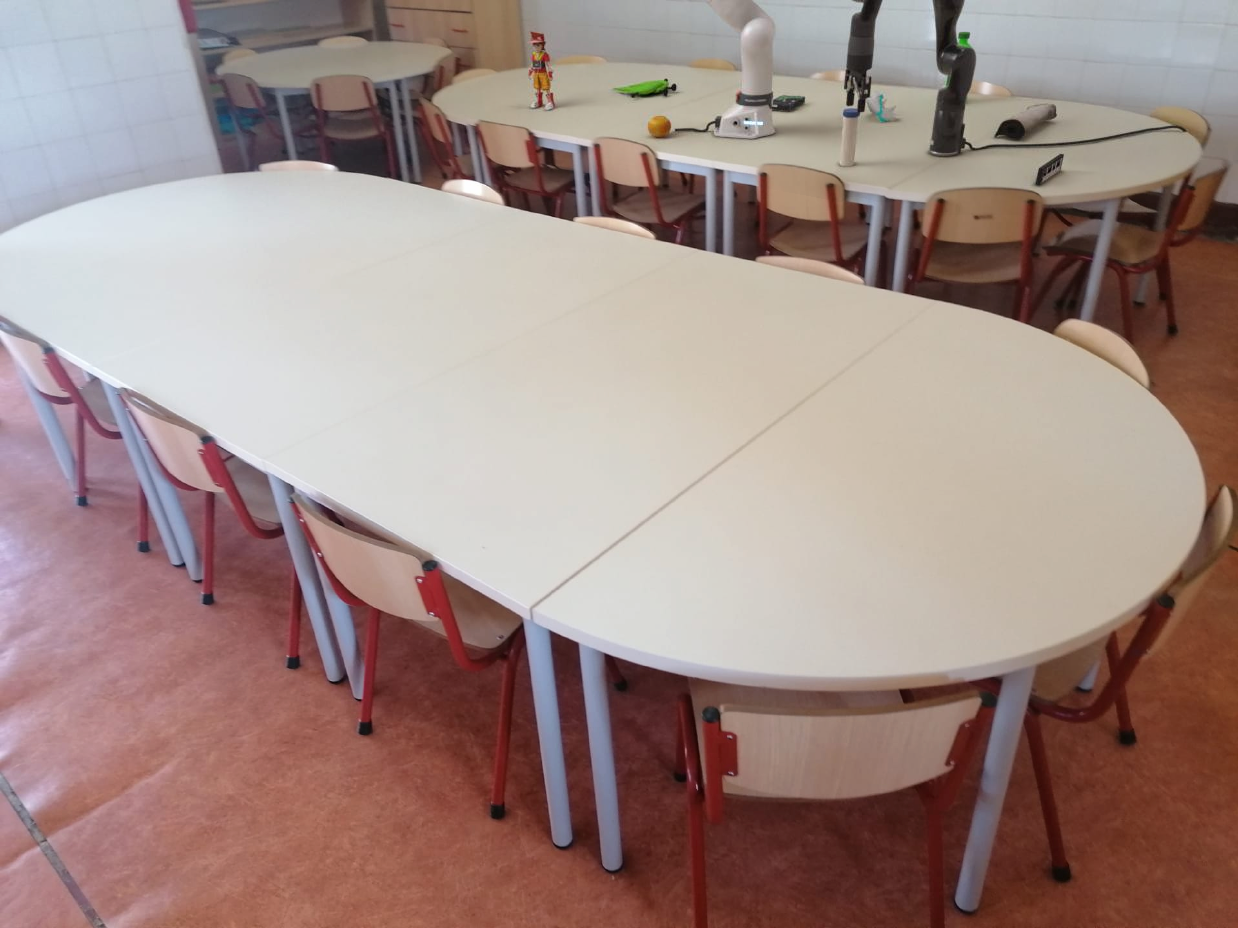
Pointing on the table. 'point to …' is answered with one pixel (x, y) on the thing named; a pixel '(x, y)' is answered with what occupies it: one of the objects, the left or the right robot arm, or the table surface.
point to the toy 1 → (541, 71)
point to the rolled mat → (1026, 121)
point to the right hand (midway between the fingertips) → (855, 109)
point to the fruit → (659, 126)
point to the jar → (848, 141)
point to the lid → (851, 112)
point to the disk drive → (787, 102)
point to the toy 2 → (648, 88)
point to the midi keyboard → (1049, 169)
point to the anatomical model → (881, 107)
